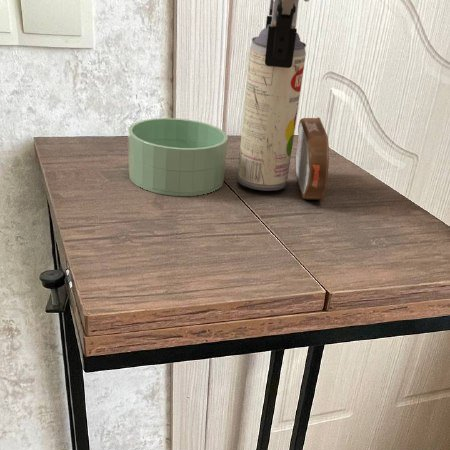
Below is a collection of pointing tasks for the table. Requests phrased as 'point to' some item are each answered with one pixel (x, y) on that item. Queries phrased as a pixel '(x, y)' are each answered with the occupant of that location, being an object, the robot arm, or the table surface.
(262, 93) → the aerosol can
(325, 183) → the tin
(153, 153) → the bowl
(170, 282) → the table surface
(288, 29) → the robot arm
